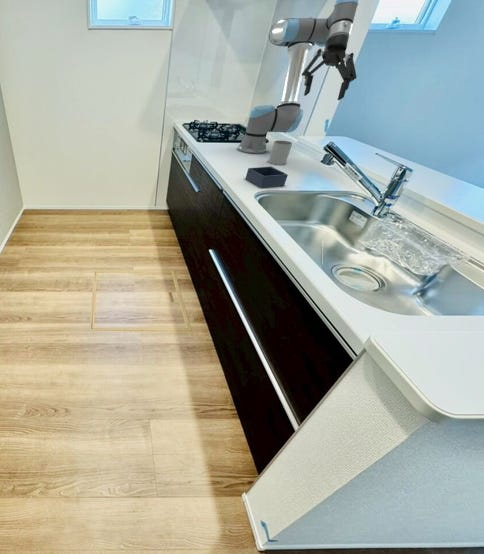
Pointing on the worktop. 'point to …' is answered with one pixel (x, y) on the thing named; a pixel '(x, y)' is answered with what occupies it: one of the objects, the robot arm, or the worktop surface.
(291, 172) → the worktop surface
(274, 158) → the cup
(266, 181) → the dark navy open box
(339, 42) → the robot arm
